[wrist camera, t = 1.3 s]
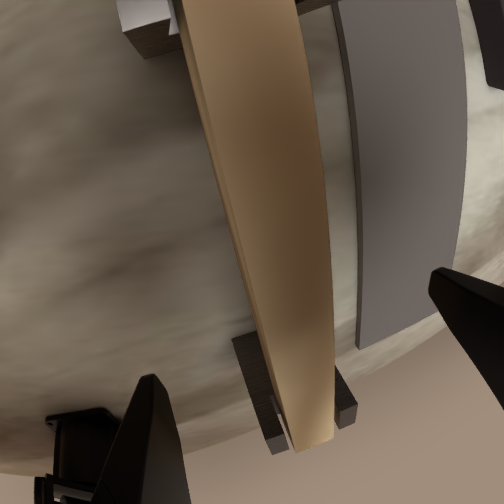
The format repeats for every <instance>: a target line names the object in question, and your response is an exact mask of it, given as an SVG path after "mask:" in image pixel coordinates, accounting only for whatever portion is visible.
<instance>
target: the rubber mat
mask: <svg viewBox="0 0 504 504" xmlns="http://www.w3.org/2000/svg"><path fill="white" fill-rule="evenodd" d="M332 8H333V13H334V18H335V23H336V28H337V33H338V39H339V44H340V50H341V56H342V62H343V68H344V75H345V82H346V89H347V96H348V104H349V113H350V121H351V131H352V141H353V153H354V165H355V180H356V198H357V223H358V305H357V330H356V347H357V348H358V349H359V350H361V349H363V348H365V347H368V346H370V345H372V344H374V343H376V342H378V341H381V340H383V339H385V338H387V337H389V336H391V335H393V334H395V333H397V332H399V331H401V330H403V329H405V328H407V327H409V326H411V325H413V324H415V323H417V322H419V321H421V320H422V319H424V318H426V317H428V316H430V315H432V314H434V313H435V312H437V311H438V309H437V308H436V306H435V304H434V303H433V301H432V300H431V298H430V296H429V294H428V286H429V281H430V275H431V272H432V271H433V270H435V269H437V268H439V267H445V268H448V269H451V270H452V265H453V260H454V255H455V249H456V244H457V238H458V232H459V225H460V218H461V210H462V202H463V193H464V182H465V170H466V152H467V92H466V75H465V62H464V53H463V44H462V36H461V29H460V23H459V17H458V11H457V6H456V1H455V0H342V1H339V2H336V3H333V4H332Z"/></svg>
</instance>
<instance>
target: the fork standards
mask: <svg viewBox="0 0 504 504" xmlns="http://www.w3.org/2000/svg"><path fill="white" fill-rule="evenodd" d="M294 1H295V5H296V10H297V14H298V16H299V15H302V14H305V13H307V12H310V11H313V10H315V9H318V8H321V7H324V6H327V5H330V4H333V3H336V2H339V1H342V0H294ZM116 4H117V9H118V13H119V18H120V22H121V26H122V31H123V33H124V34H125V35H126V37H127V38H128V39H129V41H130V42H131V43H132V44H133V46H134V47H135V48H136V50H137V51H138V52H139V53H140V55H141V56H142V57H143V59H146V58H149V57H152V56H156V55H159V54H163V53H166V52H170V51H173V50H177V49H181V48H183V45H182V41H181V37H180V32H179V28H178V24H177V20H176V16H175V11H174V7H173V3H172V0H116ZM232 342H233V345H234V349H235V352H236V355H237V358H238V361H239V364H240V367H241V370H242V373H243V376H244V379H245V383H246V386H247V389H248V392H249V395H250V398H251V400H252V403H253V406H254V409H255V412H256V415H257V418H258V421H259V424H260V427H261V429H262V432H263V435H264V438H265V441H266V443H267V445H268V447H269V449H270V451H271V453H272V455H274V454H277V453H279V452H282V451H285V450H288V449H289V447H288V444H287V440H286V437H285V434H284V431H283V429H282V426H281V424H280V421H279V419H278V416H277V414H280V410H279V406H278V403H277V399H276V396H275V393H274V389H273V386H272V382H271V379H270V375H269V372H268V368H267V365H266V361H265V357H264V354H263V350H262V347H261V343H260V340H259V336H258V333H257V331H255V332H252V333H249V334H246V335H243V336H239V337H236V338H233V339H232ZM357 407H358V403H357V401H356V400H355V398H354V396H353V395H352V393H351V392H350V390H349V388H348V386H347V384H346V383H345V381H344V379H343V378H342V376H341V374H340V373H339V371H338V369H337V367H336V366H335V396H334V421H335V422H336V424H337V426H338V428H339V429H342V428H344V427H346V426H348V425H351V424H353V423H355V419H356V412H357Z"/></svg>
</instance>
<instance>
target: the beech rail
mask: <svg viewBox="0 0 504 504" xmlns="http://www.w3.org/2000/svg"><path fill="white" fill-rule="evenodd" d="M172 3H173V7H174V11H175V16H176V20H177V24H178V28H179V32H180V37H181V41H182V45H183V49H184V53H185V57H186V62H187V66H188V70H189V74H190V78H191V82H192V86H193V90H194V94H195V98H196V102H197V106H198V110H199V114H200V118H201V122H202V126H203V130H204V134H205V138H206V142H207V146H208V150H209V154H210V157H211V161H212V165H213V169H214V173H215V177H216V181H217V184H218V188H219V192H220V196H221V200H222V204H223V207H224V211H225V215H226V219H227V222H228V226H229V230H230V234H231V237H232V241H233V245H234V249H235V252H236V256H237V260H238V263H239V267H240V271H241V275H242V278H243V282H244V286H245V289H246V293H247V296H248V300H249V304H250V307H251V311H252V315H253V318H254V322H255V325H256V329H257V333H258V336H259V340H260V343H261V347H262V350H263V354H264V357H265V361H266V365H267V368H268V372H269V375H270V379H271V382H272V386H273V389H274V393H275V396H276V399H277V403H278V406H279V410H280V413H281V417H282V420H283V423H284V425H285V428H286V431H287V433H288V435H289V438H290V440H291V443H292V445H293V448H294V450H295V452H296V453H297V452H300V451H303V450H305V449H308V448H311V447H313V446H316V445H318V444H321V443H323V442H326V441H328V440H331V439H333V434H334V396H335V349H334V309H333V286H332V268H331V252H330V238H329V226H328V214H327V203H326V193H325V184H324V175H323V166H322V157H321V149H320V142H319V134H318V127H317V120H316V113H315V106H314V100H313V94H312V88H311V82H310V76H309V70H308V64H307V59H306V54H305V48H304V43H303V38H302V33H301V28H300V24H299V19H298V14H297V10H296V5H295V1H294V0H172Z"/></svg>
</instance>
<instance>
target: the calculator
mask: <svg viewBox="0 0 504 504" xmlns="http://www.w3.org/2000/svg"><path fill="white" fill-rule="evenodd" d="M469 2H470V6H471V10H472V14H473V17H474V21H475V25H476V30H477V34H478V38H479V43H480V47H481V52H482V58H483V63H484V69H485V75H486V81H487V84H488V85H489V86H491V87H494V88H497V89H501V90H504V0H469Z"/></svg>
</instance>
